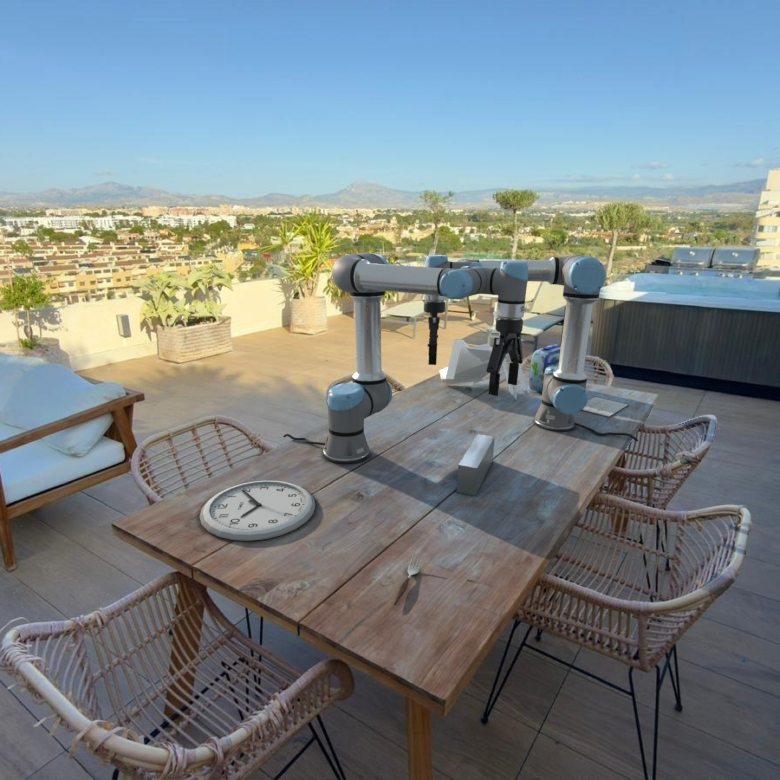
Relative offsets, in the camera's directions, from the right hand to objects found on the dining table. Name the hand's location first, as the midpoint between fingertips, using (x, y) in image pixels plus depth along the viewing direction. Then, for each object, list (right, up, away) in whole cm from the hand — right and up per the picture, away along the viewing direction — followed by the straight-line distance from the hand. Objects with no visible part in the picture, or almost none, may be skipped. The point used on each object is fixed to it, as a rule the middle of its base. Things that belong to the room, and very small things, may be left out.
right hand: (432, 360), depth 189 cm
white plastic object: (+26, -12, +55) cm, 62 cm away
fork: (-12, -52, -77) cm, 94 cm away
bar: (+11, -37, -27) cm, 48 cm away
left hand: (+18, -11, -35) cm, 41 cm away
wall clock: (-50, -43, -48) cm, 82 cm away
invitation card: (+76, -18, +38) cm, 87 cm away
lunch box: (+61, -10, +61) cm, 87 cm away
